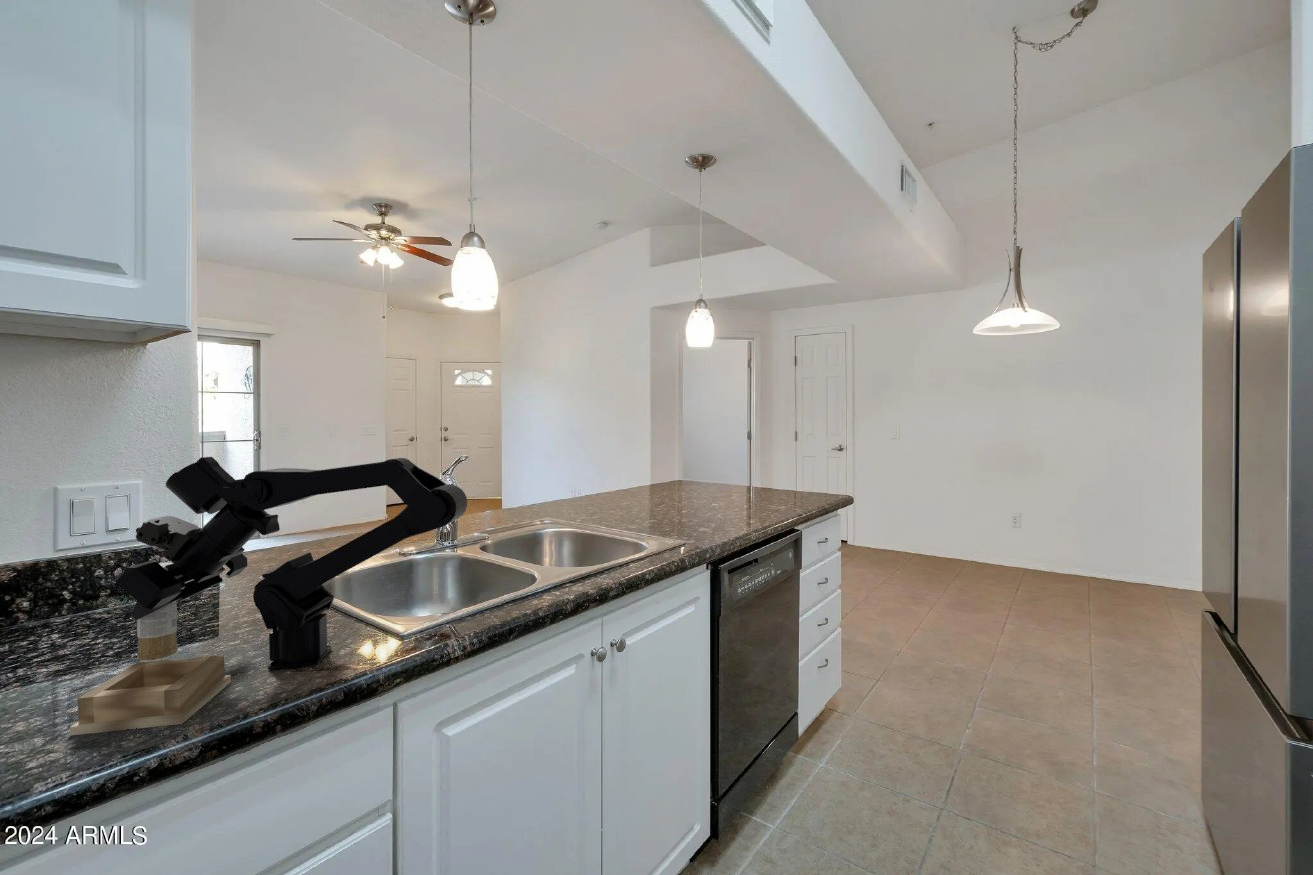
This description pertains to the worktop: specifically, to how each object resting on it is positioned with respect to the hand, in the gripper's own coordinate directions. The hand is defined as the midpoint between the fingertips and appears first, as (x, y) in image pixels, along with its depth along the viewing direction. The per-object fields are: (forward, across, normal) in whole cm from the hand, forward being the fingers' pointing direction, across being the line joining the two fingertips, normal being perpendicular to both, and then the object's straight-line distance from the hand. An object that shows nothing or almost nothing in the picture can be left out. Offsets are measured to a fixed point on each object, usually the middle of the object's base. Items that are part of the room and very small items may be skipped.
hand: (147, 611), depth 82 cm
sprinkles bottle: (+4, 0, +6) cm, 7 cm away
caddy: (-2, +13, +14) cm, 19 cm away
